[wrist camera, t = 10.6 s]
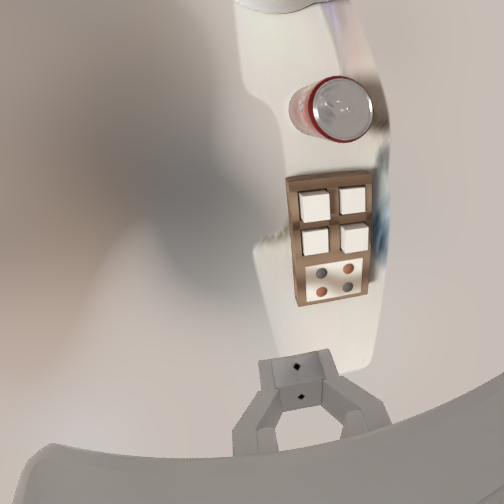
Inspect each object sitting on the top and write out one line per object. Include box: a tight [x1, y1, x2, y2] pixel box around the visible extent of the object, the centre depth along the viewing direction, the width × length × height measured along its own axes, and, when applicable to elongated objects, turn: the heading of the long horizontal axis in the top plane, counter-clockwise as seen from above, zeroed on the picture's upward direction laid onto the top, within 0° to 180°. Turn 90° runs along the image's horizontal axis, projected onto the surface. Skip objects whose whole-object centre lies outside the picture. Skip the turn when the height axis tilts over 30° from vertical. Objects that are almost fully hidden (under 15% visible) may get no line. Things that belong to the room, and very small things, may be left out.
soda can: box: [289, 76, 374, 143], centre depth 31 cm, size 7×7×12 cm
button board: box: [285, 170, 372, 307], centre depth 44 cm, size 20×12×3 cm, turn 7°
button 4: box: [338, 185, 365, 215], centre depth 40 cm, size 4×4×2 cm
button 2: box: [298, 189, 330, 223], centre depth 39 cm, size 4×4×2 cm
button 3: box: [340, 222, 369, 254], centre depth 42 cm, size 4×4×2 cm
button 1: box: [300, 226, 329, 256], centre depth 43 cm, size 4×4×2 cm
